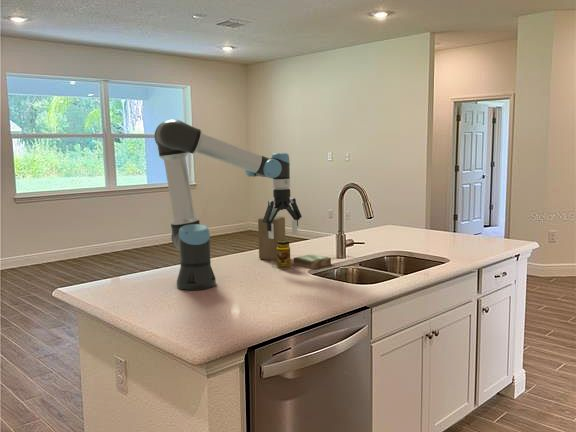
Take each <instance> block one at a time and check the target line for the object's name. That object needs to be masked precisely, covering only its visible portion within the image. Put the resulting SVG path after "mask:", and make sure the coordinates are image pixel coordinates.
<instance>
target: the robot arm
mask: <svg viewBox="0 0 576 432" xmlns="http://www.w3.org/2000/svg"><path fill="white" fill-rule="evenodd" d="M154 141H155V144H156V146H157V151H158V156H159V158H161V159H162V160H163V163H164V167H165V175H166V179H167V180H166V181H167V186H168V193H169V199H170V204H171V211H172V217H173V218H172V220H171V221H170V227H171V228H170V229H171V237H170V238H171V242H172V245H173V246H174V248H176V249H177V250H178V251H179V260H180V262H179V263H180V268H179V271H178V274H177V278H176V288H177V289H179V288H180V290H183V289H185V290H184V291H199V290H201V289H202V290H207V289H210V288H212V287H216V284H217V282H216V281H217V280H216V279H217V278H216V275H215V273H214V270H213V267H212V264H211V240H210V239H211V233H210V229H209V228H208V227H207V226H206V225H205V224H201V223H200V218H199V217H198V216H197V215H195V214H196V213H195V209H194V204H193V202H194V201H193V195H192V190H191V184H190V177H189V170H188V165H187V164H188V163H187V156H188V155H189V153H190V154H192V155H193V154H196V153H197V154H200V155H204V156H206V157H208V158H211V159H214V160H217V161H220V162H223V163H225V164H228V165H232V166H234V167H237V168H240V169H243V170H244V171H245V174H246V176H247V177H249V178H251V177H252V178H255V177H263V178H268V179H272V188H273V191H272V192H273V193H272V195H273V200H268V201H267V202H268V203H267V207H266V211H265V214H264V216H263V217H264V219H263V222H264V223H267V231H268V236H269V238H271V239H274V232H273V224H271V223H272V222H273V220H274V218H275V216H278V215H277V214H278V213H279V212H280V211H284V210H286V211H287V213H288V214H289V215H290V217H291V218H292V220H291V232H292V233H291V234H292V235H295V236H296V235H298V227H299V221H300V220H301V219H302V213H301V212H300V209H299V207H298V204H297V199H296V198H294V197H291V189H290V188H291V177H290V175H291V173H290V165H291V164H290V162H291V161H290V156H289V155H290V154H288V153H287V152H277V153H276V152H275V153H272V154H271V157H270V158H269V157H267V156H265V155H261V154H259V153H256V152H253V151H250V150H247V149H246V148H245V149H244V148H242V147H239V146H237V145H234V144H232V143H228V142H226V141H224V140H221V139H218V138H216V137H213V136H211V135H208V134H205V133H203V131H202V130H201V129H200V128H196V127H194V126H192V125H190V124H188V123H186V122H184V121H182V120H179V119H168V120H165V121H163V122H161V123H160V124H158V125H157V127H156V129H155V131H154Z"/></svg>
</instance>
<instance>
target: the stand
mask: <svg viewBox="0 0 576 432" xmlns="http://www.w3.org/2000/svg"><path fill="white" fill-rule="evenodd" d="M331 264H332V258H331V257H328V256H323V255H321V254H320V255H318V254H315V253H312V254H311V253H310V254H306V255H302V256H301V255H300V256H297V257H293V265H295V266H299V267H302V268H306V269H310V270H313V269H317V268H321V267H326V266H330V265H331Z"/></svg>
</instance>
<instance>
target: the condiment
mask: <svg viewBox="0 0 576 432" xmlns="http://www.w3.org/2000/svg"><path fill="white" fill-rule="evenodd" d="M277 243H278V244H277V260H276V265H272V267H273V268H275V269H277V270H279V271H283V270H289V269H295V267H294V266H292V265H291V246H290V241H289V240H285V241H284V240H283V241H278V242H277Z"/></svg>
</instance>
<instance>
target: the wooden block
mask: <svg viewBox="0 0 576 432" xmlns="http://www.w3.org/2000/svg"><path fill="white" fill-rule="evenodd" d="M263 219H264V216H262V217H259V218H258V220H257V222H258V223H257V228H258V234H257V235H258V259H260V260H266V261H275V262H277V244H278V243H277V242H278V241H283V240H284V241H286V218H285V216H278V215H276V216H275V218H274V220H273V222H272V223H271V224H273V232H274V239H271V238H269V236H268V231H267V223H264V222H263Z"/></svg>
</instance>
